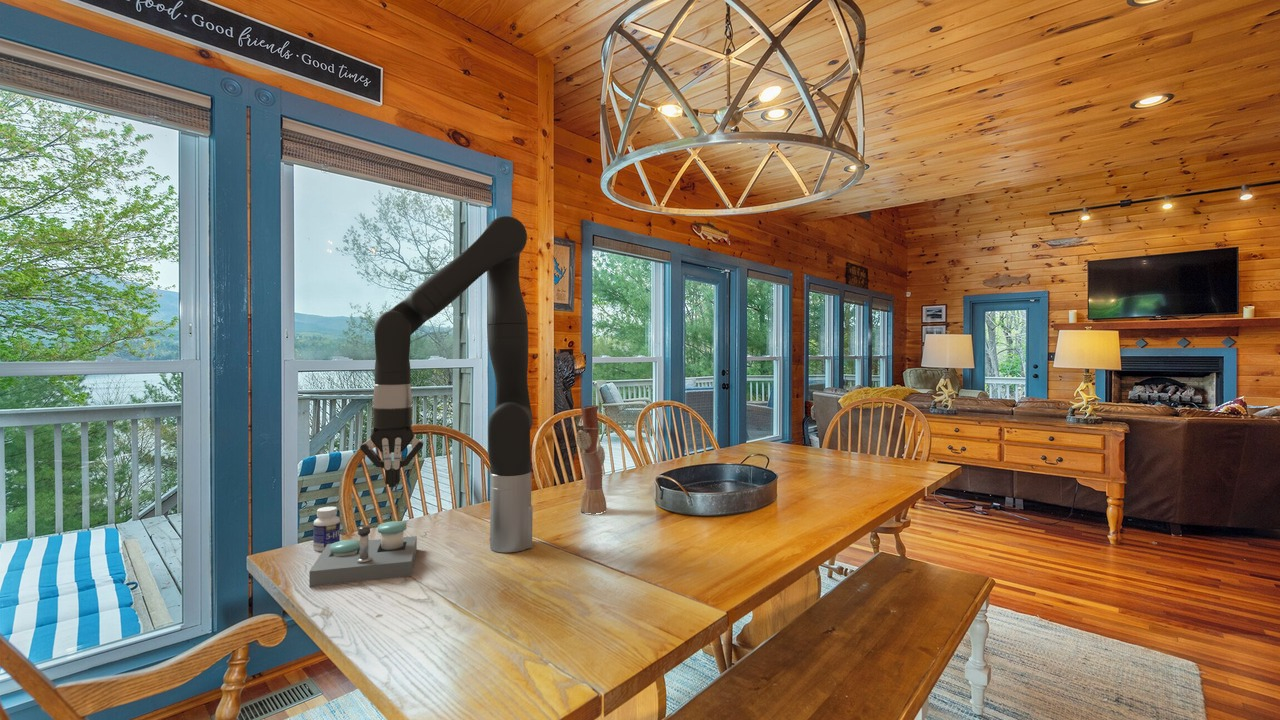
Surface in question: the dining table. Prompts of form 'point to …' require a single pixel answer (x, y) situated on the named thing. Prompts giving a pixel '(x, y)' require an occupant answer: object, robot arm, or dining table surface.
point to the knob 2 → (392, 534)
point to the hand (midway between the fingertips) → (392, 486)
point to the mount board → (364, 564)
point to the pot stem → (364, 544)
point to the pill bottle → (326, 528)
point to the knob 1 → (345, 547)
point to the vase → (591, 461)
